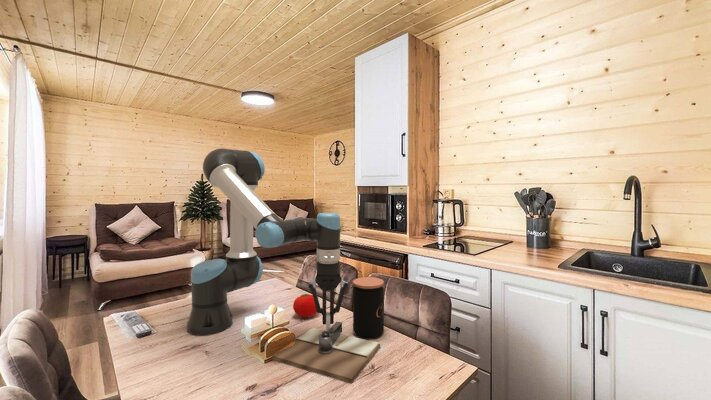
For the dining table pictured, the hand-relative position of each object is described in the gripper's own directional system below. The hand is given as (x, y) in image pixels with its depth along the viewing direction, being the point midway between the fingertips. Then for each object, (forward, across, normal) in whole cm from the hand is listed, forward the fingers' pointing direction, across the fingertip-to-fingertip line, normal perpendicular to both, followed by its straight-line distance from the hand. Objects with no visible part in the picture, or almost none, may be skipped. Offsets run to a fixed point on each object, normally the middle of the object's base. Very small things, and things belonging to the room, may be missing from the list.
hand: (327, 333), depth 103 cm
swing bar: (+1, +1, -3) cm, 3 cm away
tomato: (+3, -8, +23) cm, 25 cm away
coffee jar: (+3, +14, +5) cm, 15 cm away
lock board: (+3, -1, -7) cm, 8 cm away
